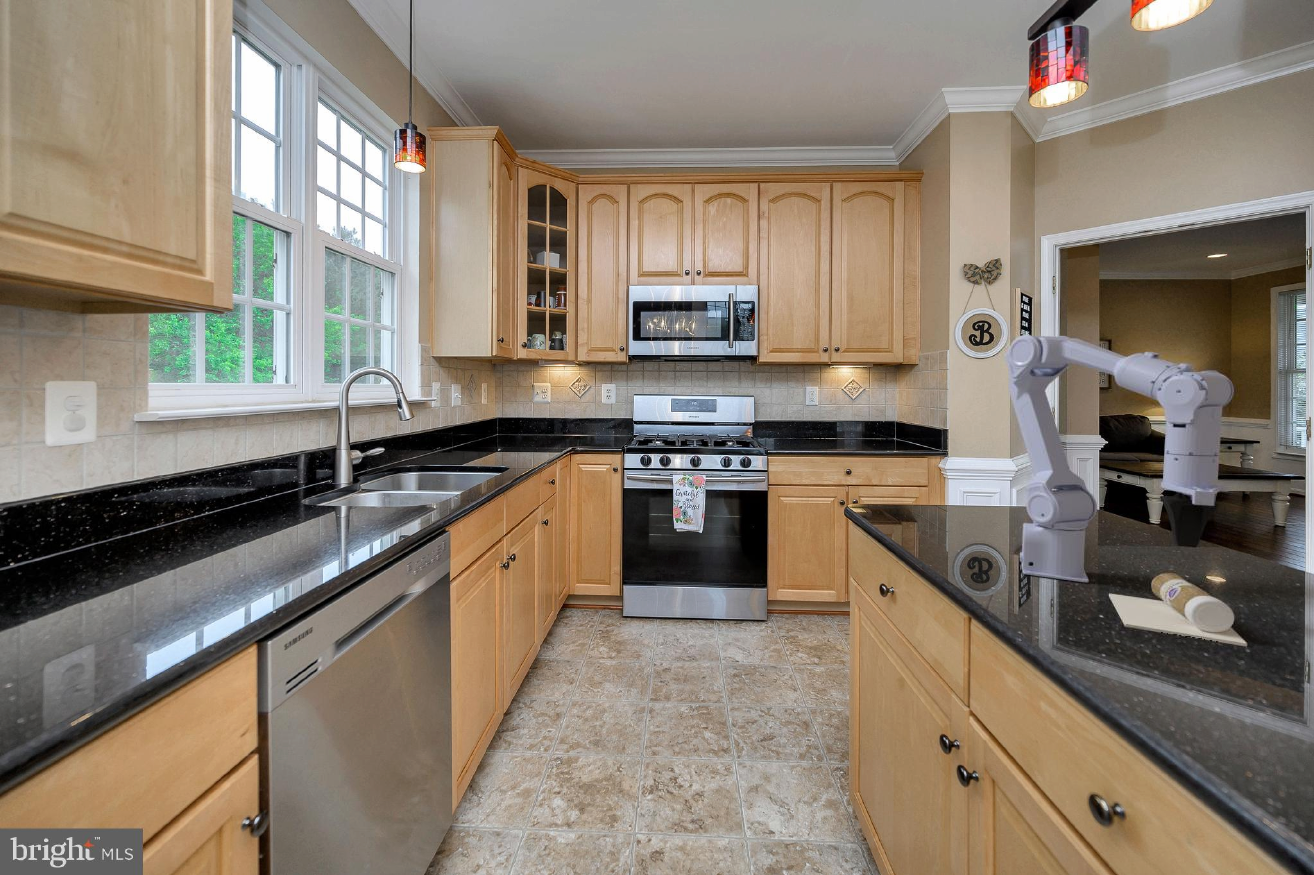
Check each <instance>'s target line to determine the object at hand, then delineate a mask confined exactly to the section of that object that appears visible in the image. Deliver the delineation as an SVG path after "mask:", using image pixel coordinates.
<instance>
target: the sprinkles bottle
mask: <svg viewBox="0 0 1314 875" xmlns="http://www.w3.org/2000/svg"><path fill="white" fill-rule="evenodd" d="M1150 584H1151V591H1152V593H1153V594H1154V595H1155V596H1156V597H1157V598H1159V599H1160V600H1161V601H1164V602H1166V603H1167V604H1168V605H1170V606H1171V607H1172V608H1174V609H1175V610H1176V611H1177V612H1179V613H1180V614H1182V615H1183V616H1185V617H1187V619H1188V620H1189V621H1190V622H1191V623H1192V624H1194V625H1195V626H1196V627H1198V628H1200V629H1201V630H1204V631H1207V632H1222V631H1225V630H1227V629H1228V628H1230V627H1231V628H1232V625H1233V624H1234V622H1235V614H1234V612H1233V610H1232V608H1231V607H1230V606H1229V605H1228V604H1226V603H1225V602H1223V601H1222V600H1220V599H1218V598H1216V597H1213V596H1211V594H1209V593H1207V591H1204V590H1203V589H1201V588H1199V586H1196V585H1195V584H1194V583H1191V582H1188V581H1187V580H1185V578H1184V577H1182V576H1180V575H1179V574H1177V573H1172V572H1166V573H1160V574H1158V575H1157V576H1155V577H1154V578H1153V579H1152V580H1151V583H1150Z"/></svg>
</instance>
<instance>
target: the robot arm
mask: <svg viewBox="0 0 1314 875" xmlns="http://www.w3.org/2000/svg"><path fill="white" fill-rule="evenodd" d="M1160 355H1161V354H1160V353H1158V352H1154V351H1145V352H1144V353H1142V352H1137V353H1133V354H1131V355H1129V356H1125V355H1122V354H1120V353H1117V352H1115V351H1111V350H1109V349H1106V348H1104V347H1100V346H1099V345H1096V344H1093V343H1090V342H1087V341H1084V340H1082V339H1080V338H1075V337H1069V336H1067V335H1057V336H1050V335H1049V336H1047V335H1031V334H1024V335H1023V334H1022V335H1019V336H1018V337H1016V338H1015V339H1014V340H1013V341H1012V342H1011V344H1010V345H1009V348H1008V349H1007V352H1006V353H1005V355H1004V359H1005V362H1006V367H1007V369H1008V393H1009V395H1010V398H1011V401H1012V406H1013V409H1014V411H1015V415H1016V419H1017V422H1018V426H1019V428H1020V433H1021V435H1022V439H1023V442H1024V445H1025V449H1026V453H1027V455H1028V459H1029V463H1030V465H1031V469H1032V473H1033V475H1034V476H1033V478H1032V479H1031V480H1030V481H1029V482H1028V483H1027V484H1026V485H1025V488H1024V489H1025V491H1026V497H1027V498H1026V503H1025V504H1026V505H1025V506H1026V508H1025V509H1026V512H1027V514H1028V516H1029V517H1030V519H1031V520H1032V522H1033V523H1028V522H1023V524H1022V539H1021V540H1022V544H1021V546H1022V547H1021V551H1020V553H1019V562H1021V570H1022V572H1021V573H1022V574H1023V575H1028V576H1029V575H1030V576H1036V577H1044V578H1051V579H1058V580H1065V581H1073V582H1081V583H1089V581H1090V580H1089V578H1088V576H1087V573H1086V571H1085V569H1084V565H1085V564H1084V563H1085V562H1084V561H1085V543H1086V541H1085V540H1086V528H1087V527H1088V526H1089V521H1091V520H1092V519H1093V518H1095V516H1096V515H1097V511H1098V503H1097V500H1096V498H1095V496H1094V495H1093V494H1092V493H1091V492H1090V491H1089V490H1088V488H1087V486H1086V484H1085V480H1084V479H1082V478H1081V477H1080V476H1079V475H1077V474H1076V473H1075V472H1073V471H1072V470H1071V469H1070V465H1069V462H1068V460H1067V456H1066V452H1065V450H1064V447H1063V444H1062V440H1061V437H1060V433H1059V431H1058V427H1057V424H1056V422H1055V419H1054V416H1053V415H1054V414H1053V412H1052V408H1051V406H1050V402H1049V400H1048V396H1047V392H1046V389H1047V388H1048V386H1049V385H1050V384H1051V383H1053V382H1054V381H1055V380H1056V379H1057V378H1058V377H1059V376H1060V375H1061V374H1063V373H1064V372H1065V371H1066V369H1068V368H1069V367H1070V366H1071V364H1073V365H1079V366H1082V367H1085V368H1089V369H1093V370H1095V371H1098V372H1101V373H1105V374H1109V375H1111V376H1114V381H1115V382H1116V384H1117V386H1119V387H1121V388H1123V389H1127V390H1129V391H1132V392H1134V393H1136V394H1140V395H1142V396H1145V397H1148V398H1150V399H1153V400H1156V401H1158V403H1159V404H1160V405H1161V407H1162V408H1163V410H1164V419H1165V435H1164V436H1165V439H1164V455H1163V456H1164V457H1163V476H1162V477H1163V478H1162V481H1161V482H1160V488H1161V489H1164V490H1168V491H1172V492H1175V494H1173V496H1172V495H1171V496H1170V495H1160V496H1159V498H1160V500H1161V502H1162V504H1163V506H1164V508H1165V510H1166V513H1167V515H1168V519H1169V522H1170V527H1171V534H1172V538H1173V541H1174V543H1175V545H1176V546H1177V547H1185V548H1187V547H1188V548H1197V547H1198V545H1199V543H1200V541H1201V537H1202V535H1203V532H1204V529H1205V527H1206V525H1207V523H1208V521H1209V519H1210V518H1211V517H1212V515H1213V514H1214V513H1216V511H1217V510H1218V508H1219V507H1220V504H1219V503H1218V502H1217V501H1216V500H1215V497H1216V494H1217V493H1219V492H1230V486H1228V485H1225V484H1218V479H1219V478H1218V477H1219V466H1220V464H1219V463H1220V449H1221V435H1222V434H1221V432H1222V430H1221V429H1222V414H1223V408H1224V407H1225V406H1227V405H1228V404H1229V403H1230V402H1231V400H1232V398H1233V397H1234V394H1235V393H1234V392H1235V388H1234V384H1233V382H1232V381H1231V379H1229V378H1228V377H1227V376H1226V375H1224V374H1222V373H1220V372H1219V371H1218V370H1202V371H1195V370H1194V369H1193V367H1194V366H1193V364H1189V363H1186V362H1181V363H1179V364H1178V363H1174V362H1171V361H1168V360H1166V359H1162V358H1160Z"/></svg>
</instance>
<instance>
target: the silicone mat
mask: <svg viewBox="0 0 1314 875" xmlns="http://www.w3.org/2000/svg"><path fill="white" fill-rule="evenodd" d="M1108 597H1109V599H1110V601H1111V602H1112V604H1113V606H1114V608H1115V610H1116V612H1117V613H1118V615H1119V618H1120V619H1121V621H1122V623H1123V625H1124V627H1126V628H1132V629H1138V630H1144V631H1151V632H1156V633H1161V632H1163V633H1162V634H1167V633H1168V635H1173V634H1177V635H1176V636H1179V635H1181V636H1180V637H1185V636H1191V637H1190V638H1192V637H1195V638H1194V639H1198V638H1202V639H1201V640H1204V639H1205V640H1206V641H1210V640H1212V641H1211V642H1216V641H1218V642H1217V643H1223V644H1227V645H1229V644H1230V645H1235V646H1241V647H1248V643H1247V642H1246V641H1245V640H1244V639H1243V638H1242V636H1240V635H1239V634H1238V633H1237V632H1236V631H1235V630H1234V629H1233V628H1232V626H1231V627H1230V628H1228V629H1227V630H1225V631H1222V632H1207V631H1204V630H1201V629H1200V628H1198V627H1196V626H1195V625H1194V624H1192V623H1191V622H1190V621H1189V620H1188V619H1187V617H1185V616H1183V615H1182V614H1180V613H1179V612H1177V611H1176V610H1175V609H1174V608H1172V607H1171V606H1170V605H1168V604H1167V603H1166V602H1164V600H1158V599H1151V598H1143V597H1136V596H1128V595H1122V594H1116V593H1108ZM1205 640H1204V641H1205Z"/></svg>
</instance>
